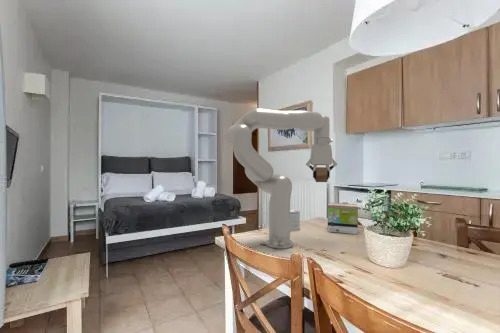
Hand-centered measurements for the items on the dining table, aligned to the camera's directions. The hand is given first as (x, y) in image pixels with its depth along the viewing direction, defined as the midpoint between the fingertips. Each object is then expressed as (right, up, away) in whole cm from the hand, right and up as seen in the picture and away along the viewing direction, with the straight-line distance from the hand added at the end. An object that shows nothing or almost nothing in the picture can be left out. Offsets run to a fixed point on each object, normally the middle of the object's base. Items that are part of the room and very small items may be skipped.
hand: (321, 179), depth 127 cm
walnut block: (0, -1, 0) cm, 1 cm away
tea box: (+15, -29, +15) cm, 36 cm away
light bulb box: (-12, -29, +20) cm, 38 cm away
